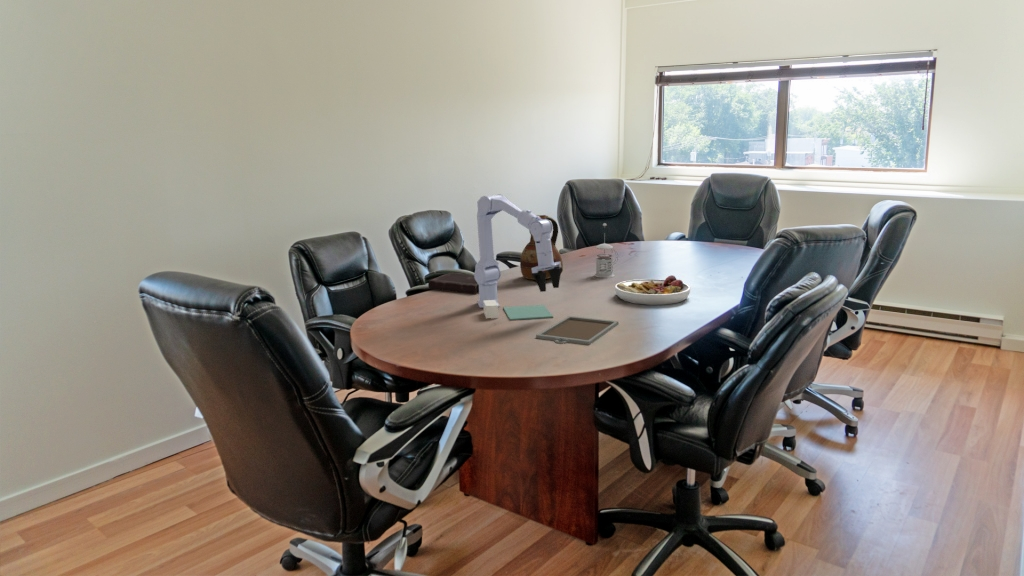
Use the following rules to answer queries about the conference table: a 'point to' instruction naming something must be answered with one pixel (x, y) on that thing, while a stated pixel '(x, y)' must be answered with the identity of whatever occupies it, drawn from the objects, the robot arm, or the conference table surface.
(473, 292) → the diary
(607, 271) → the french press
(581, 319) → the picture frame
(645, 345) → the conference table surface
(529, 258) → the ceramic pitcher
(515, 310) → the mat
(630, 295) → the bowl
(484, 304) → the card box
